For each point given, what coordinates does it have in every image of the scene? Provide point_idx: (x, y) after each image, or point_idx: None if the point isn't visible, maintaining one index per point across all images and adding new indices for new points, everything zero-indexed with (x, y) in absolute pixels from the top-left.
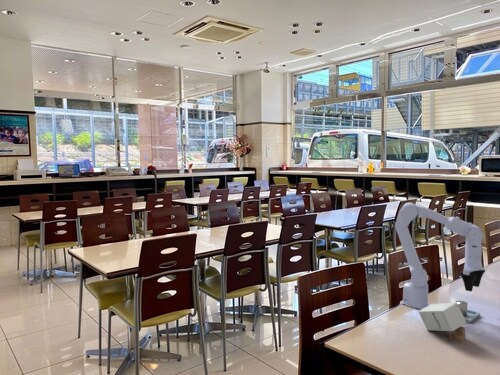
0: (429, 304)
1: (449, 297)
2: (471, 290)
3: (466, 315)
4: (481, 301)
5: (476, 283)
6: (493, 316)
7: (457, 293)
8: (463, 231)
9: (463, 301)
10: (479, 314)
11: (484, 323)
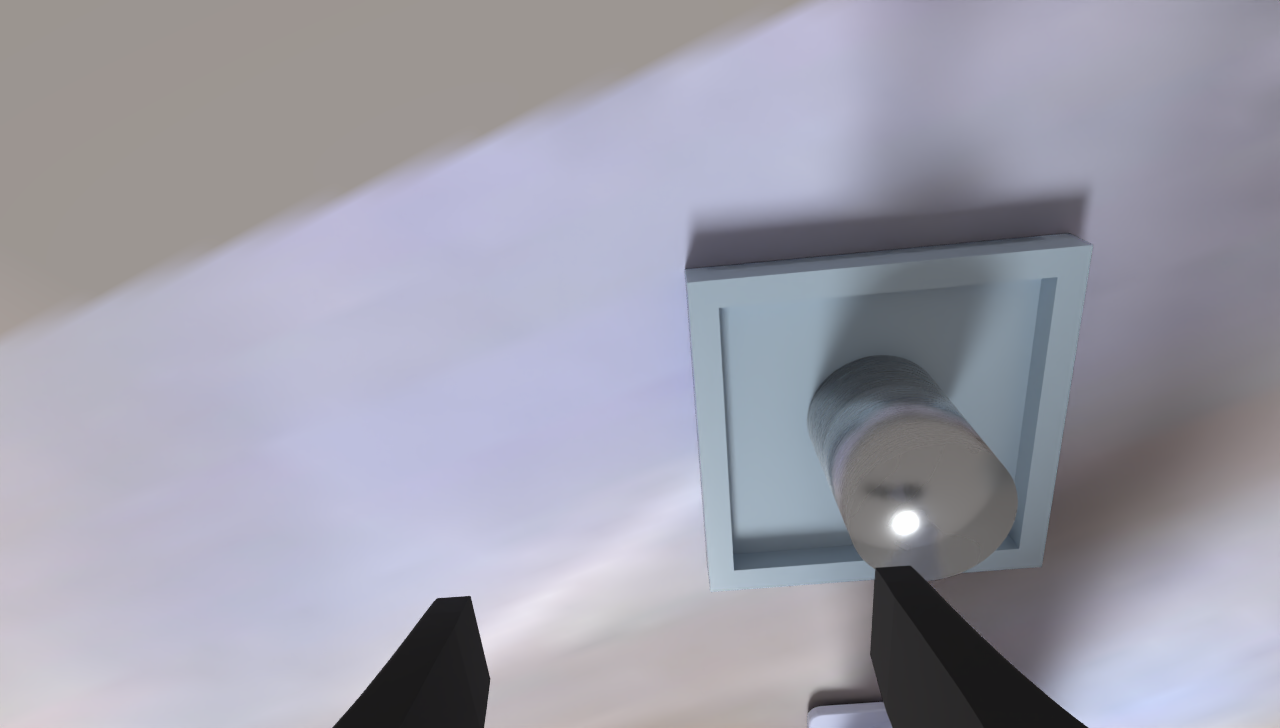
0: (838, 725)
1: None
2: (919, 578)
3: (891, 360)
4: (158, 462)
5: (457, 685)
6: (555, 140)
7: (189, 711)
8: None
9: (862, 518)
10: (710, 274)
11: (927, 112)
